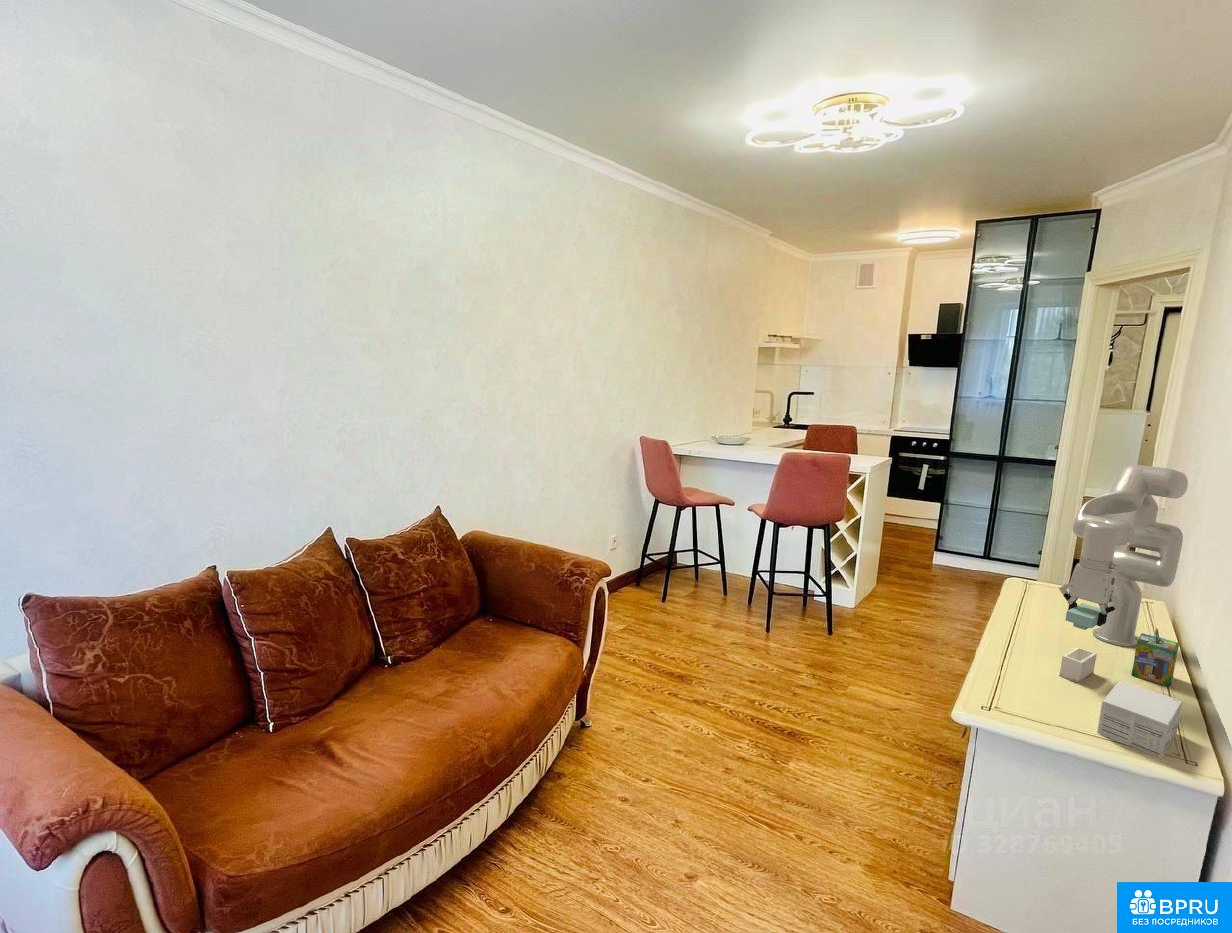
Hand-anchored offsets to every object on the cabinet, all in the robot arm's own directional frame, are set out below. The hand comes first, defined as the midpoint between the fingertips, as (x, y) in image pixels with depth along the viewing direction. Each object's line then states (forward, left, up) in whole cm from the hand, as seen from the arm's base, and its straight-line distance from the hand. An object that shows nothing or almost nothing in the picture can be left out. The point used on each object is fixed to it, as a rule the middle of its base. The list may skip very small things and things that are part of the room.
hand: (1085, 620), depth 184 cm
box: (0, 0, -18) cm, 18 cm away
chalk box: (-19, +13, -18) cm, 29 cm away
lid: (0, 0, 0) cm, 0 cm away
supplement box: (+22, +21, -18) cm, 35 cm away
